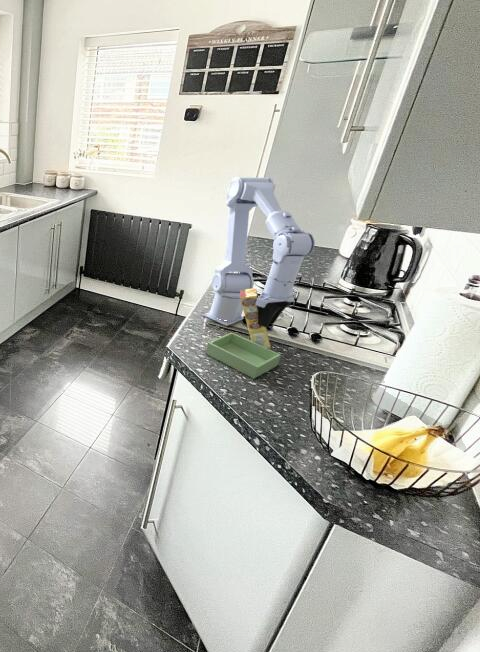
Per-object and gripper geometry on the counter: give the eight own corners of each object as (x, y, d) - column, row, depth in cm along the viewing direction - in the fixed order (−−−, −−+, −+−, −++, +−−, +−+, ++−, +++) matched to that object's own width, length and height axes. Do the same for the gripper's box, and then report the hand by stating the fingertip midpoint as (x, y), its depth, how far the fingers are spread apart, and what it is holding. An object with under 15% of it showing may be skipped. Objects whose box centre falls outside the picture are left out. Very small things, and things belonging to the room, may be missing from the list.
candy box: (271, 348, 114) (258, 295, 113) (252, 350, 117) (239, 297, 115) (268, 337, 122) (256, 287, 120) (251, 339, 124) (239, 290, 123)
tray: (228, 342, 122) (231, 332, 121) (277, 365, 112) (281, 354, 110) (204, 353, 117) (208, 342, 116) (253, 378, 107) (258, 367, 105)
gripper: (284, 290, 102) (266, 337, 108) (313, 277, 109) (295, 323, 114) (253, 279, 107) (239, 325, 113) (283, 268, 114) (267, 312, 120)
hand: (265, 323), depth 114 cm, fingers open, 3 cm apart
